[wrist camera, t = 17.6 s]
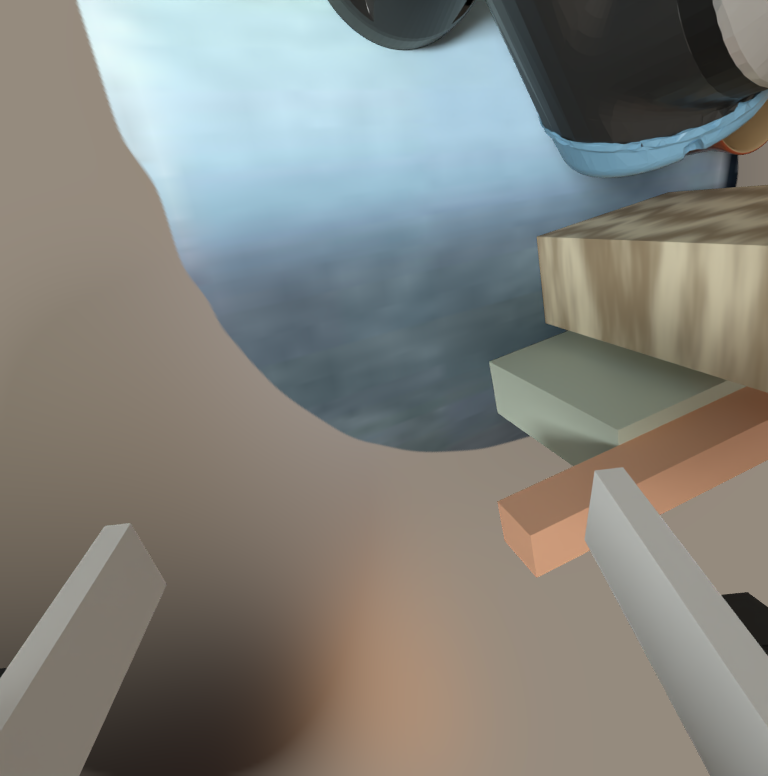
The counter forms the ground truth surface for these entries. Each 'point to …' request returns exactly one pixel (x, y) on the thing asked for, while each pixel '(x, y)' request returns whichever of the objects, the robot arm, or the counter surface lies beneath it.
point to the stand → (669, 280)
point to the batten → (639, 476)
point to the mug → (744, 136)
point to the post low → (595, 393)
